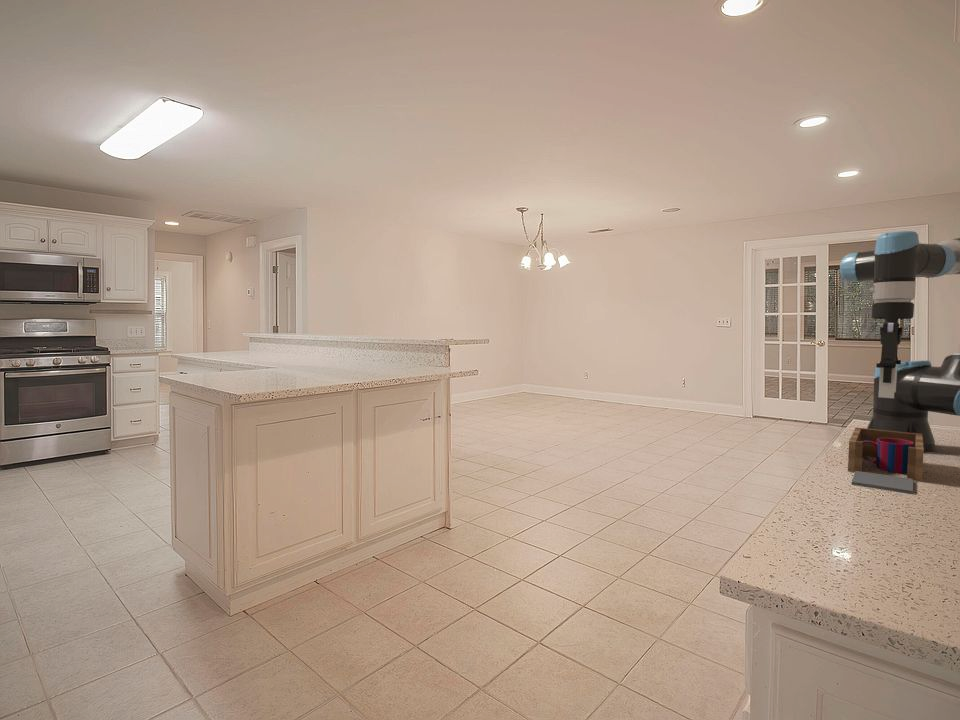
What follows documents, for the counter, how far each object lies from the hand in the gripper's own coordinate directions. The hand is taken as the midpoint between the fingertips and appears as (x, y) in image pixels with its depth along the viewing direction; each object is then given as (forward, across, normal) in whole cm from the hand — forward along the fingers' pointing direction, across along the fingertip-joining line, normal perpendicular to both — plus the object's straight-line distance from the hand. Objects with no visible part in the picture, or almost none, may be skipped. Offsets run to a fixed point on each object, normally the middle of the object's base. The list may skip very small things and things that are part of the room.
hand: (887, 394), depth 120 cm
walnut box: (+17, -2, 0) cm, 17 cm away
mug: (+18, 0, 0) cm, 18 cm away
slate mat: (+17, +13, 0) cm, 22 cm away
